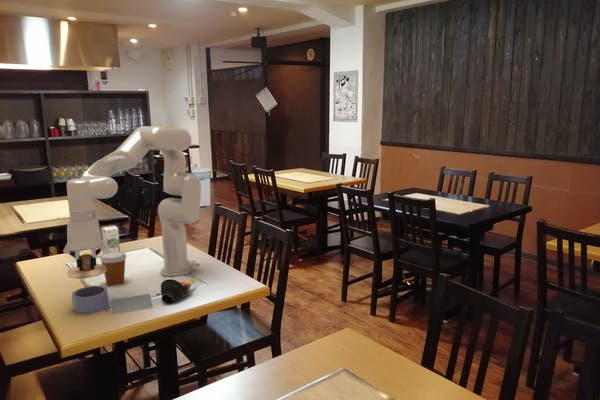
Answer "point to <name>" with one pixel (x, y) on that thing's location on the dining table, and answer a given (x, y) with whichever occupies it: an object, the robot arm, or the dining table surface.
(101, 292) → the bowl
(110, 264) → the disposable coffee cup
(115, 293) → the dining table surface
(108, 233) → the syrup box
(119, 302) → the mat
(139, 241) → the dining table surface
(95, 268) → the lid
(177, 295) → the black dish with food
